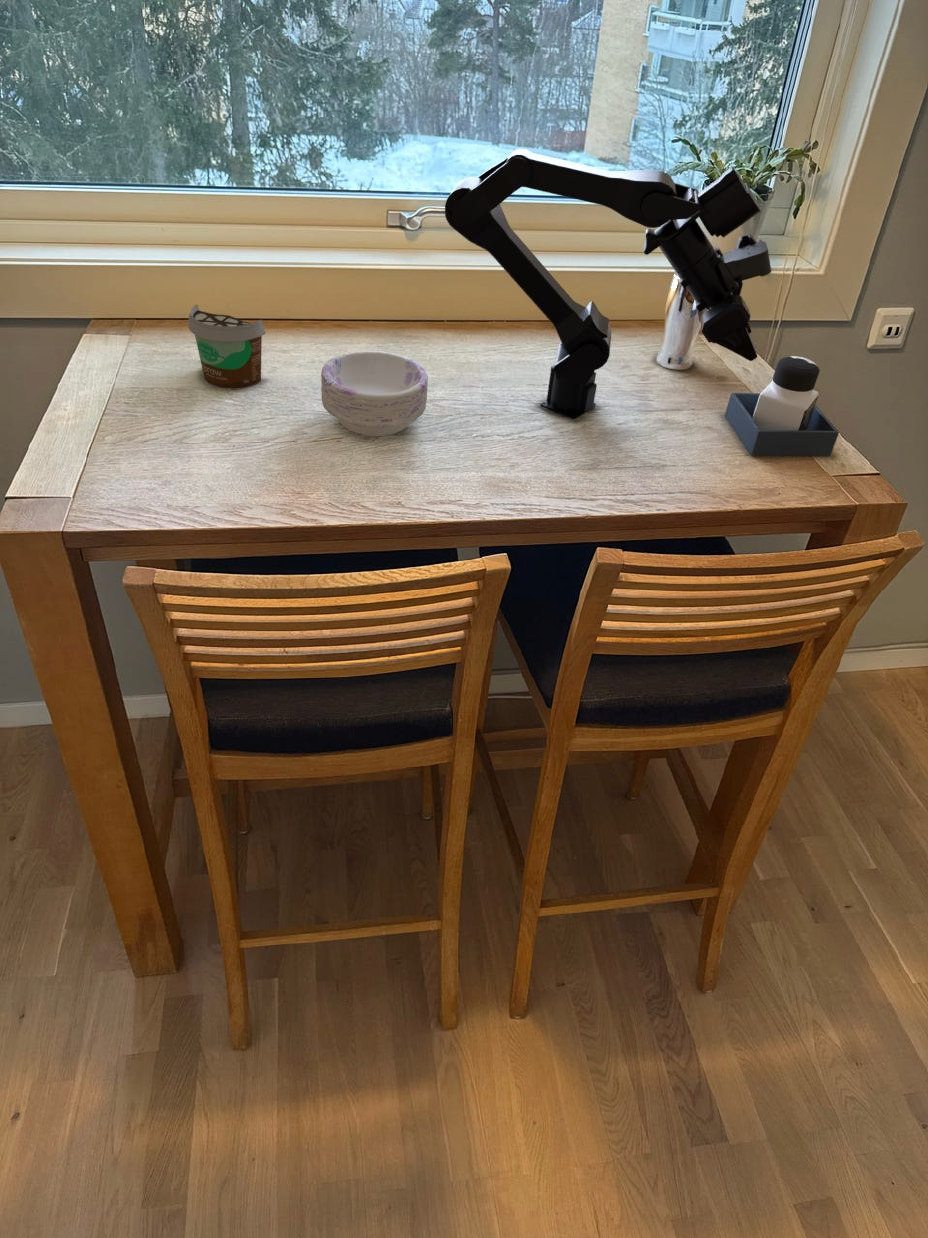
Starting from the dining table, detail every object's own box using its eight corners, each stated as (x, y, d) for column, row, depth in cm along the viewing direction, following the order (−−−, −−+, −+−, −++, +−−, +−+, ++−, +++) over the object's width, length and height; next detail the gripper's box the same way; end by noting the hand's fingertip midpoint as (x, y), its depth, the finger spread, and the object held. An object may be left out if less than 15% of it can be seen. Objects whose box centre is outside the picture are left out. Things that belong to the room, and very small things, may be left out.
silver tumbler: (693, 373, 154) (715, 285, 144) (653, 367, 155) (671, 279, 145) (694, 357, 159) (715, 271, 150) (654, 351, 160) (673, 265, 150)
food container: (178, 380, 139) (169, 316, 132) (202, 365, 143) (194, 303, 137) (247, 398, 136) (241, 334, 129) (269, 382, 140) (264, 320, 134)
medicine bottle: (791, 451, 135) (817, 377, 127) (746, 437, 137) (768, 362, 130) (805, 434, 140) (830, 360, 132) (760, 419, 142) (783, 347, 135)
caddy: (751, 455, 133) (758, 431, 131) (724, 415, 142) (731, 392, 140) (830, 456, 135) (839, 432, 132) (798, 416, 144) (806, 393, 141)
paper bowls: (446, 430, 132) (449, 380, 127) (358, 457, 125) (357, 404, 120) (389, 389, 141) (389, 341, 136) (303, 412, 134) (300, 361, 129)
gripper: (753, 241, 113) (813, 338, 119) (741, 201, 127) (795, 289, 134) (675, 295, 119) (737, 385, 125) (672, 250, 133) (727, 333, 139)
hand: (751, 345), depth 130 cm, fingers open, 9 cm apart
